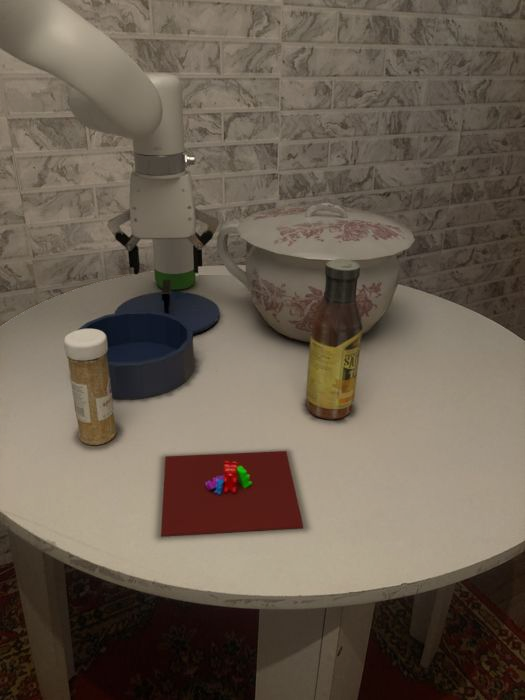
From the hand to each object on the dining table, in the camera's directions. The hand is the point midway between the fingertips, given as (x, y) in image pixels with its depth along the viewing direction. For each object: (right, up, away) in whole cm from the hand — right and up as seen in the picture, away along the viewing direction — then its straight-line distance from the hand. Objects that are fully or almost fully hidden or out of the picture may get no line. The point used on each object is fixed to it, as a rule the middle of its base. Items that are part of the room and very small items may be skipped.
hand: (166, 270), depth 98 cm
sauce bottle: (+25, -21, -19) cm, 37 cm away
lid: (0, -7, +3) cm, 8 cm away
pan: (-3, -16, -12) cm, 20 cm away
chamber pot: (+25, -9, +3) cm, 27 cm away
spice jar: (-4, -24, -26) cm, 35 cm away
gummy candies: (+12, -28, -34) cm, 45 cm away
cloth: (+12, -28, -34) cm, 46 cm away
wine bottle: (-1, -1, +17) cm, 17 cm away
